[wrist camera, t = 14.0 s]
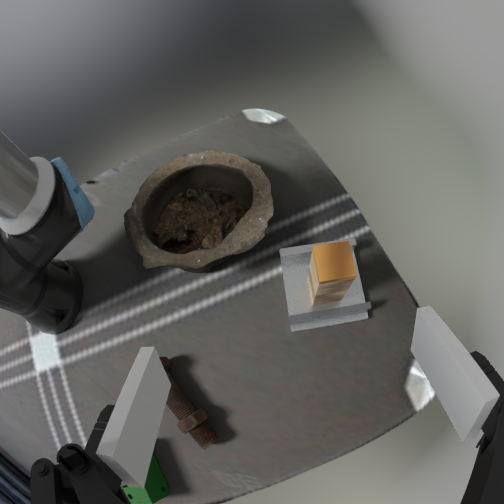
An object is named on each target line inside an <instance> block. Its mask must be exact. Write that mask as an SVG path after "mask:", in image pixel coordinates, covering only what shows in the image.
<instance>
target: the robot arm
mask: <svg viewBox="0 0 504 504" xmlns="http://www.w3.org/2000/svg"><path fill="white" fill-rule="evenodd" d="M93 217H94V208H93V206H92V204H91V203H90V201H89V200H88V198H87V197H86V195H85V194H84V192H83V191H82V189H81V188H80V186H79V185H78V183H77V181H76V180H75V178H74V177H73V175H72V174H71V172H70V171H69V169H68V167H67V166H66V164H65V163H64V161H63V159H62V158H61V157H58V158H56V159H54V160H52V161H51V162H49V161H48V160H46V159H45V158H42V157H31V158H28V157H27V156H26V155H25V154H24V153H23V152H22V151H21V150H20V149H19V148H18V147H17V146H16V145H15V144H14V143H13V142H11V141H10V140H9V139H8V138H7V137H6V136H5V135H4V134H3V133H2V132H1V131H0V308H3V309H6V310H8V311H11V312H14V313H17V314H19V315H22V316H23V317H24V318H25V319H26V320H27V321H28V322H29V323H30V324H31V325H32V326H34V327H35V328H36V329H37V330H39V331H41V332H44V333H47V334H59V333H61V332H63V331H65V330H66V329H67V328H68V327H69V326H70V325H71V324H72V323H73V321H74V320H75V318H76V316H77V314H78V311H79V309H80V305H81V301H82V283H81V279H80V276H79V274H78V272H77V271H76V270H75V268H74V267H72V266H71V265H69V264H68V263H66V262H64V261H62V260H58V259H53V258H54V257H55V256H56V255H57V254H58V253H59V252H60V251H61V250H62V249H63V248H64V247H65V246H66V245H67V244H68V243H70V242H71V241H72V240H73V239H74V238H75V237H76V236H77V235H78V234H79V233H80V232H82V231H83V229H84V227H85V226H86V225H87V224H88V223H89V222H90V221H91V220H92V219H93ZM411 352H412V353H413V355H414V357H415V358H416V360H417V362H418V363H419V365H420V367H421V368H422V370H423V372H424V373H425V375H426V377H427V379H428V380H429V382H430V384H431V386H432V387H433V389H434V391H435V393H436V394H437V396H438V398H439V400H440V402H441V403H442V405H443V407H444V409H445V411H446V413H447V414H448V416H449V418H450V420H451V422H452V424H453V426H454V427H455V430H456V432H457V434H458V435H459V437H460V439H461V441H462V443H463V442H466V441H468V440H470V439H472V438H474V437H476V436H477V434H478V433H479V431H480V429H482V430H483V432H484V435H483V436H482V438H481V439H480V441H479V442H478V444H477V446H476V448H478V446H479V445H480V447H479V451H478V455H477V458H476V461H475V464H474V468H473V471H472V474H471V477H470V480H469V483H468V485H467V489H466V491H465V494H464V496H463V499H462V501H461V504H504V381H503V379H502V378H501V377H500V376H499V374H498V373H497V371H495V369H494V368H493V366H492V365H490V362H489V361H488V360H487V359H486V358H485V356H483V355H482V354H480V353H479V352H477V351H475V352H472V353H469V352H468V351H467V350H466V349H465V348H464V346H463V345H462V344H461V342H460V341H459V340H458V338H457V337H456V336H455V335H454V334H453V332H452V331H451V330H450V329H449V328H448V326H447V325H446V324H445V323H444V321H442V319H441V318H440V317H439V315H438V314H437V313H436V312H435V311H434V310H433V309H432V307H431V306H426V307H422V308H417V315H416V321H415V328H414V334H413V340H412V346H411ZM170 388H171V383H170V381H169V379H168V376H167V374H166V372H165V370H164V367H163V365H162V363H161V361H160V358H159V356H158V354H157V351H156V349H155V347H141V349H140V351H139V353H138V355H137V357H136V360H135V362H134V364H133V366H132V368H131V371H130V373H129V375H128V377H127V380H126V382H125V384H124V386H123V389H122V391H121V393H120V396H119V398H118V400H117V403H116V405H107V406H106V407H105V408H104V409H103V410H102V411H101V413H100V415H99V417H98V419H97V423H96V424H95V426H94V430H93V431H92V433H91V435H90V438H89V440H88V442H87V445H86V447H85V450H83V449H82V447H81V446H79V445H77V444H73V443H70V444H67V445H65V446H63V447H62V448H61V449H60V450H59V451H58V454H57V462H58V463H59V464H58V465H54V464H53V463H52V462H51V461H50V460H48V459H46V458H41V459H39V460H37V461H36V462H34V464H33V465H32V468H31V504H131V503H130V501H129V499H128V497H127V496H126V494H125V492H124V490H123V489H122V488H121V487H120V485H121V482H122V481H123V482H124V483H125V484H126V485H127V486H131V487H137V488H144V486H145V481H146V477H147V473H148V469H149V465H150V461H151V458H152V454H153V450H154V446H155V442H156V438H157V435H158V431H159V427H160V423H161V420H162V416H163V413H164V409H165V405H166V402H167V398H168V395H169V391H170Z"/></svg>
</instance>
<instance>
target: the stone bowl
mask: <svg viewBox="0 0 504 504" xmlns="http://www.w3.org/2000/svg"><path fill="white" fill-rule="evenodd" d="M231 195H235V196H236V197H237V198H233V199H232V197H231ZM273 212H274V209H273V199H272V196H271V184H270V182H269V179H268V178H267V177H266V175H265V173H264V172H263V171H262V170H261V167H260V166H259V165H258V164H256V163H253V162H249V160H247V159H245V158H243V157H240V156H237V155H235V154H232V153H227V152H222V151H215V150H208V151H203V152H202V153H198V154H197V153H192V154H188V155H183V156H181V157H179V158H177V159H175V160H173V161H171V162H170V163H168V164H167V165H165V166H163V167H161V168H158V169H157V170H156V171H155V172H154V173H152V174H151V175H150V176H149V177H148V178H147V179H146V181H145V182H144V183H143V184H142V186H141V187H140V189H139V193H138V194H137V195H136V197H135V199H134V201H133V203H132V207H131V208H130V209H128V210H127V211H126V213H125V214H124V220H125V222H124V225H125V230H126V237H127V239H128V240H129V241H130V243H131V245H132V247H133V249H134V250H135V251H136V252H138V253H139V254H140V255H141V256H142V257H143V259H142V261H143V266H145V268H154V267H163V266H174V267H176V268H180V269H182V270H184V271H188V272H194V273H204V272H208V271H210V270H211V267H212V266H215V265H219V264H221V263H223V262H225V261H226V260H228V259H229V258H230V257H231V256H232V255H234V254H239V253H243V252H246V251H247V250H249V249H251V248H252V247H253V246H255V245H256V244H257V243H258V242H259V241H261V240H262V239H263V237H264V236H265V235H264V232H265V229H266V228H267V226H268V224H267V222H268V221H269V219H270V217H272V216H273ZM172 252H174V253H172Z"/></svg>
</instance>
